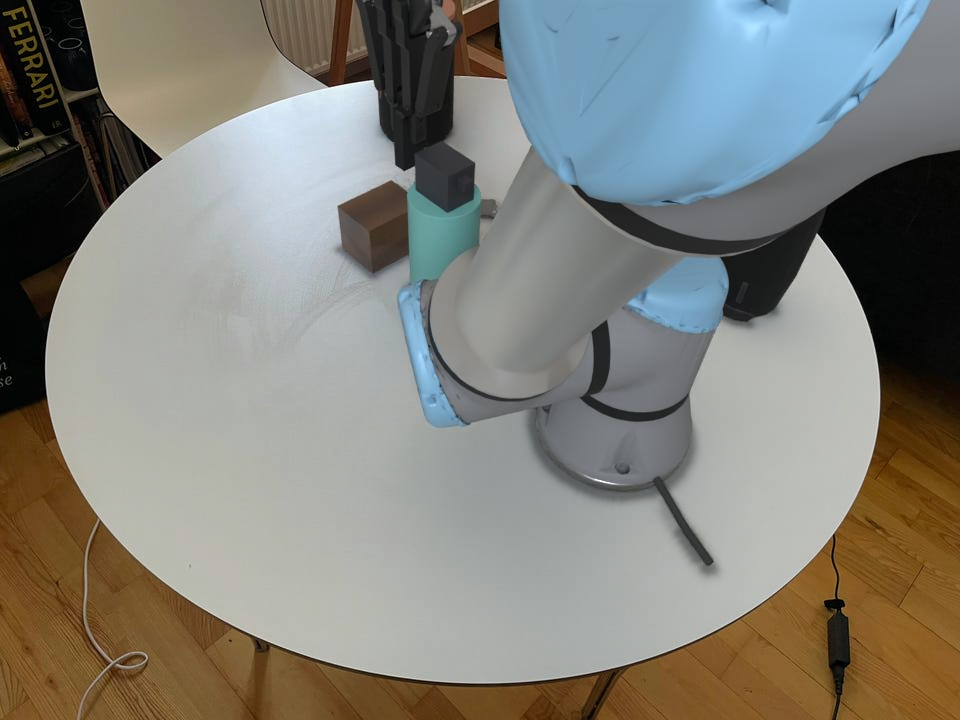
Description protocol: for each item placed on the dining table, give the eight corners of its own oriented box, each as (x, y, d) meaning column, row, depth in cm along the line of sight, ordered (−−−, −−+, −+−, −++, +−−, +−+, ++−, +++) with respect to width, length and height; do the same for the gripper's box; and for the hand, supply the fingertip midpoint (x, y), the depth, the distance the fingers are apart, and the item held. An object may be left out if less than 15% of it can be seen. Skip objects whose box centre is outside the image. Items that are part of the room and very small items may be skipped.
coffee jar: (376, 112, 113) (368, -11, 100) (447, 108, 115) (449, -14, 101) (383, 153, 106) (376, 26, 93) (458, 148, 108) (462, 22, 94)
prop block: (424, 245, 93) (423, 203, 89) (372, 273, 90) (369, 231, 85) (393, 222, 96) (391, 179, 91) (342, 248, 92) (337, 205, 88)
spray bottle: (477, 308, 91) (549, 240, 74) (429, 338, 88) (494, 274, 71) (408, 209, 92) (465, 119, 75) (358, 235, 88) (406, 147, 71)
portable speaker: (731, 264, 94) (787, 122, 79) (794, 307, 89) (865, 165, 74) (685, 292, 90) (735, 148, 75) (749, 339, 85) (814, 195, 71)
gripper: (490, -71, 60) (478, 178, 78) (388, -116, 66) (398, 124, 84) (418, -49, 57) (422, 206, 74) (317, -99, 63) (343, 149, 80)
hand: (409, 163), depth 79 cm, fingers closed
